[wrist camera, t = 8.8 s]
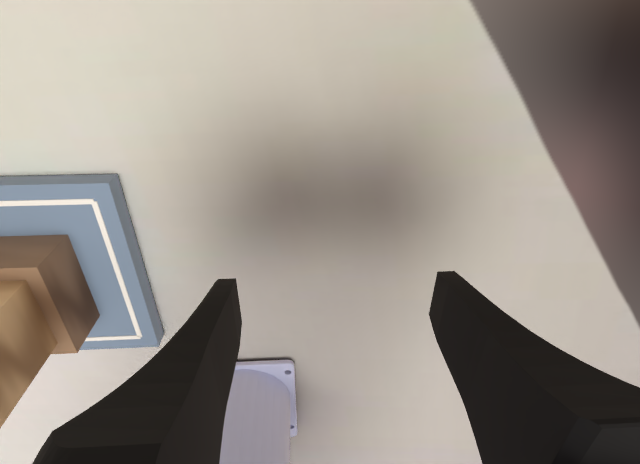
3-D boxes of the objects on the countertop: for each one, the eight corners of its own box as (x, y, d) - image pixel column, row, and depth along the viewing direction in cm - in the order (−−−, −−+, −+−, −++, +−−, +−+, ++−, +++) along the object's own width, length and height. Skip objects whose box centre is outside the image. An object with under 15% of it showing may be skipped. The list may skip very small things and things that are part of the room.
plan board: (164, 333, 27) (144, 384, 24) (-15, 340, 26) (-63, 394, 23) (117, 174, 21) (80, 211, 17) (-118, 178, 20) (-207, 218, 17)
